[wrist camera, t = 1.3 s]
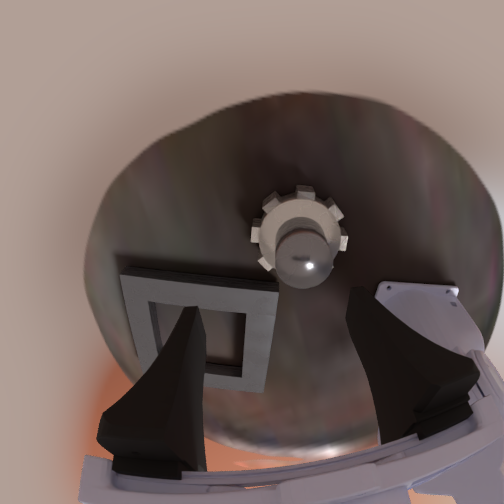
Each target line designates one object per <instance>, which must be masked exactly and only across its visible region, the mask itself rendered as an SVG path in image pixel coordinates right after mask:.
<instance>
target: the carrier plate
mask: <svg viewBox="0 0 504 504" xmlns="http://www.w3.org/2000/svg"><path fill="white" fill-rule="evenodd" d="M119 275H120V280H121V285H122V290H123V295H124V300H125V305H126V309H127V314H128V318H129V323H130V327H131V331H132V335H133V339H134V343H135V347H136V350H137V354H138V358H139V361H140V365H141V368H142V371H143V375H144V373H145V372H146V371H147V370H148V368H149V367H150V366H151V364H152V363H153V362H154V360H155V359H156V357H157V356H158V354H159V353H160V351H161V350H162V343H161V338H160V332H159V326H158V320H157V314H156V307H155V302H158V303H165V304H172V305H179V306H187V307H188V306H198V308H202V309H211V310H219V311H228V312H238V313H246V327H245V341H244V355H243V367H235V366H226V365H218V364H211V363H205V373H204V384H203V386H206V387H213V388H221V389H229V390H237V391H247V392H258V393H263V392H264V386H265V380H266V374H267V368H268V362H269V355H270V349H271V343H272V336H273V330H274V323H275V316H276V309H277V302H278V295H279V282H269V281H258V280H247V279H237V278H227V277H217V276H208V275H198V274H189V273H180V272H171V271H162V270H154V269H146V268H137V267H129V266H126V267H125V268H124V269H123V271H122V272H121V273H120V274H119Z"/></svg>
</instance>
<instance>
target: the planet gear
mask: <svg viewBox="0 0 504 504" xmlns="http://www.w3.org/2000/svg"><path fill="white" fill-rule="evenodd" d="M262 208H263V210H264V211H265V212H264V214H263V216H262V219H259V218H253V224H252V232H251V242H255V243H259V247H260V249H259V254H258V262H259V263H260V264H261V265H262V266H263V267H264V268H265V269H266V270H267V271H269V270H271V269H272V268H274V269H276V272H277V274H278V276H279V277H280V279H281V280H282V281H283V282H284V283H286V284H287V285H289V286H292V287H295V288H300V289H305V288H311V287H314V286H317V285H319V284H320V283H322V282H323V281H324V280H325V279H326V278H327V277H328V276H329V274H330V273H331V270H332V268H334V267H333V259H334V258H335V256H336V255H337V253H338V250H340V251H345V250H346V246H347V241H348V235H347V233H346V231H345V229H344V227H339V224H338V221H339V220H340V219H342V218H343V217H344V215H343V214H342V212H341V210H340V209H339V207H338V206H337V205H336V203H335V202H334V201H333V199H332V198H331V197H329V198H328V199H327V200H325V201H323V200H322V199H320V198H318V197H316V196H315V191H314V189H313V187H312V186H304V185H296V191H295V193H290V194H286V195H283V196H281V197H280V195H279V194H278V193H277V192H276V191H274V192H273V193H272V194H271V195H269V196H268V197H267V198H265V199H264V200H263V205H262Z"/></svg>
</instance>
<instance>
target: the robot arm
mask: <svg viewBox="0 0 504 504" xmlns="http://www.w3.org/2000/svg"><path fill="white" fill-rule="evenodd" d="M388 286H390V287H389V288H387V287H388ZM447 290H448V291H447ZM458 291H459V289H458V287H457V286H448V285H432V284H417V283H402V282H388V281H383V282H381V283H380V284H379V285H378V288H377V291H376V294H375V297H374V296H373V295H371V294H370V293H369V292H368V291H367V290H366V289H365V288H364V287H363V286H361V287H355V288H351V290H350V296H349V302H348V307H347V313H346V322H347V326H348V329H349V333H350V336H351V338H352V341H353V343H354V346H355V348H356V350H357V353H358V355H359V357H360V360H361V362H362V365H363V367H364V369H365V372H366V375H367V378H368V381H369V385H370V388H371V392H372V396H373V400H374V405H375V409H376V414H377V420H378V425H379V427H378V445H379V446H377V447H373V448H370V449H366V450H363V451H359V452H355V453H351V454H347V455H343V456H339V457H334V458H330V459H325V460H320V461H315V462H309V463H303V464H297V465H291V466H283V467H275V468H266V469H256V470H242V471H220V472H207V466H206V457H205V446H204V432H203V409H202V397H203V384H204V373H205V363H206V334H205V330H204V326H203V323H202V319H201V315H200V312H199V308H198V306H188V307H184V309H183V311H182V313H181V315H180V317H179V319H178V321H177V323H176V325H175V327H174V329H173V331H172V333H171V334H170V336H169V338H168V340H167V342H166V343H165V345H164V346H163V348H162V350H161V351H160V353H159V354H158V356H157V357H156V359H155V360H154V362H153V363H152V364H151V366H150V367H149V368H148V370H147V371H146V372H145V373H144V375H143V376H142V377H141V378H140V379H139V380H138V382H137V383H136V384H135V385H134V386H133V387H132V388H131V389H130V390H129V391H128V392H127V393H126V394H125V395H124V396H123V397H122V398H121V399H120V400H118V401H117V402H116V403H115V404H114V405H112V406H111V407H110V408H108V409H107V410H106V411H105V412H103V414H102V417H101V419H100V423H99V428H98V433H97V438H96V439H97V441H98V443H99V444H100V445H101V446H102V447H104V448H105V449H106V450H108V451H109V452H110V453H112V454H113V455H114V458H113V461H112V460H109V459H105V458H100V457H94V456H89V455H85V456H84V462H83V468H82V475H81V481H80V488H79V496H78V501H79V502H81V503H83V504H411V502H410V498H409V495H408V491H407V490H409V489H411V488H413V490H414V491H415V492H416V493H420V494H430V495H448V496H452V497H453V498H454V500H455V501H456V503H457V504H504V381H503V379H502V378H501V376H500V374H499V373H498V371H497V370H496V368H495V366H494V365H493V364H492V363H491V361H490V359H489V358H488V357H487V356H486V355H485V353H484V341H483V337H482V334H481V332H480V330H479V329H478V327H477V326H476V324H475V323H474V321H473V320H472V318H471V317H470V315H469V314H468V313H467V311H466V310H465V308H464V307H463V306H462V304H461V303H460V302H459V300H458V299H457V297H456V296H457V294H458ZM274 484H277V485H274ZM265 485H271V486H265ZM253 486H265V487H259V488H252V489H246V488H244V487H253Z"/></svg>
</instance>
